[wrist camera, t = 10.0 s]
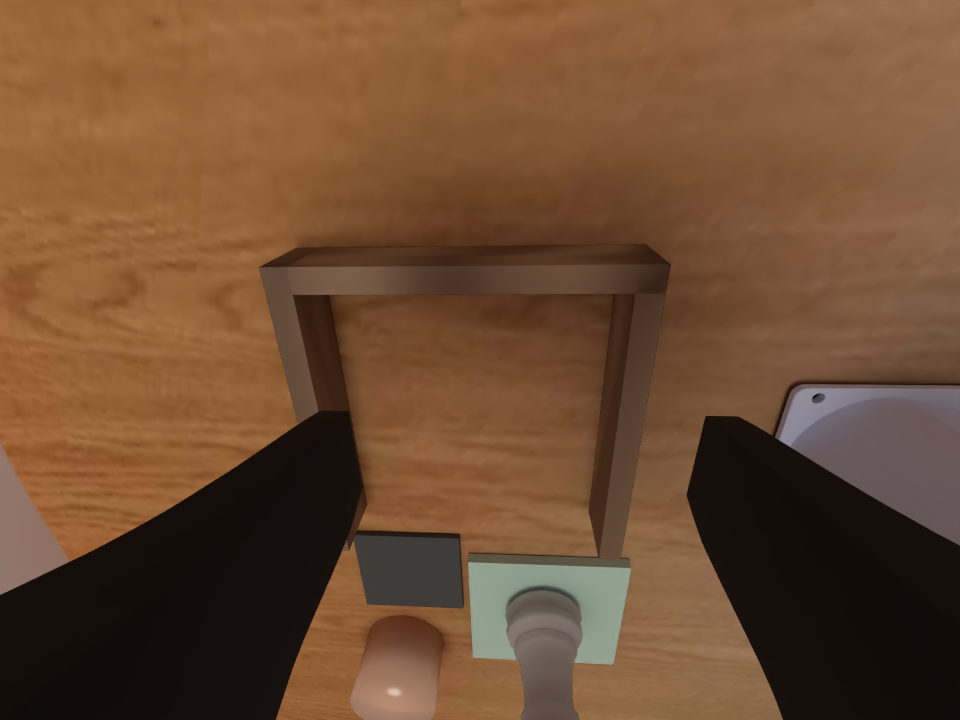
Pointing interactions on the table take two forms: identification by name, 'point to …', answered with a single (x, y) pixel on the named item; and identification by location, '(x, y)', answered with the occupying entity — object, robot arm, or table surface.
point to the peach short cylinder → (399, 671)
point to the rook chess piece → (545, 651)
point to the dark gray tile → (410, 568)
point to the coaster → (579, 578)
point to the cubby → (484, 270)
